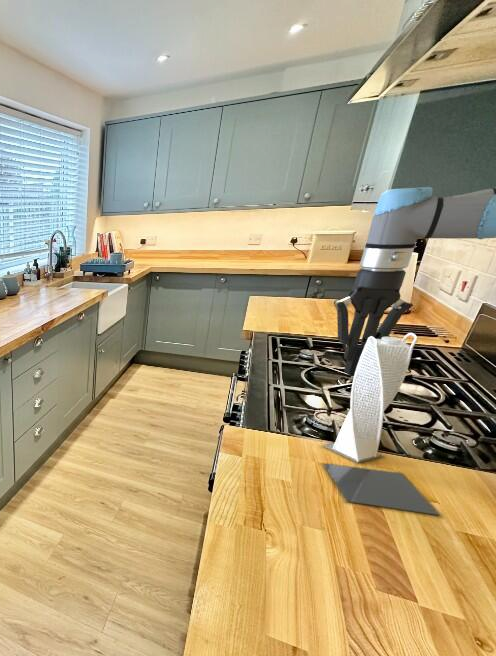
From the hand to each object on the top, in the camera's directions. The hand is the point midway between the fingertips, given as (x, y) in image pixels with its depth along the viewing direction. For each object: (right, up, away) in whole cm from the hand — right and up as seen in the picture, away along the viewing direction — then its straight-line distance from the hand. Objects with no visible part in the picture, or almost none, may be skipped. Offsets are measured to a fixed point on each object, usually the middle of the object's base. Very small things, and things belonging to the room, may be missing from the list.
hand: (350, 373), depth 96 cm
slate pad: (-9, -23, -16) cm, 29 cm away
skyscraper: (-3, -18, -5) cm, 19 cm away
